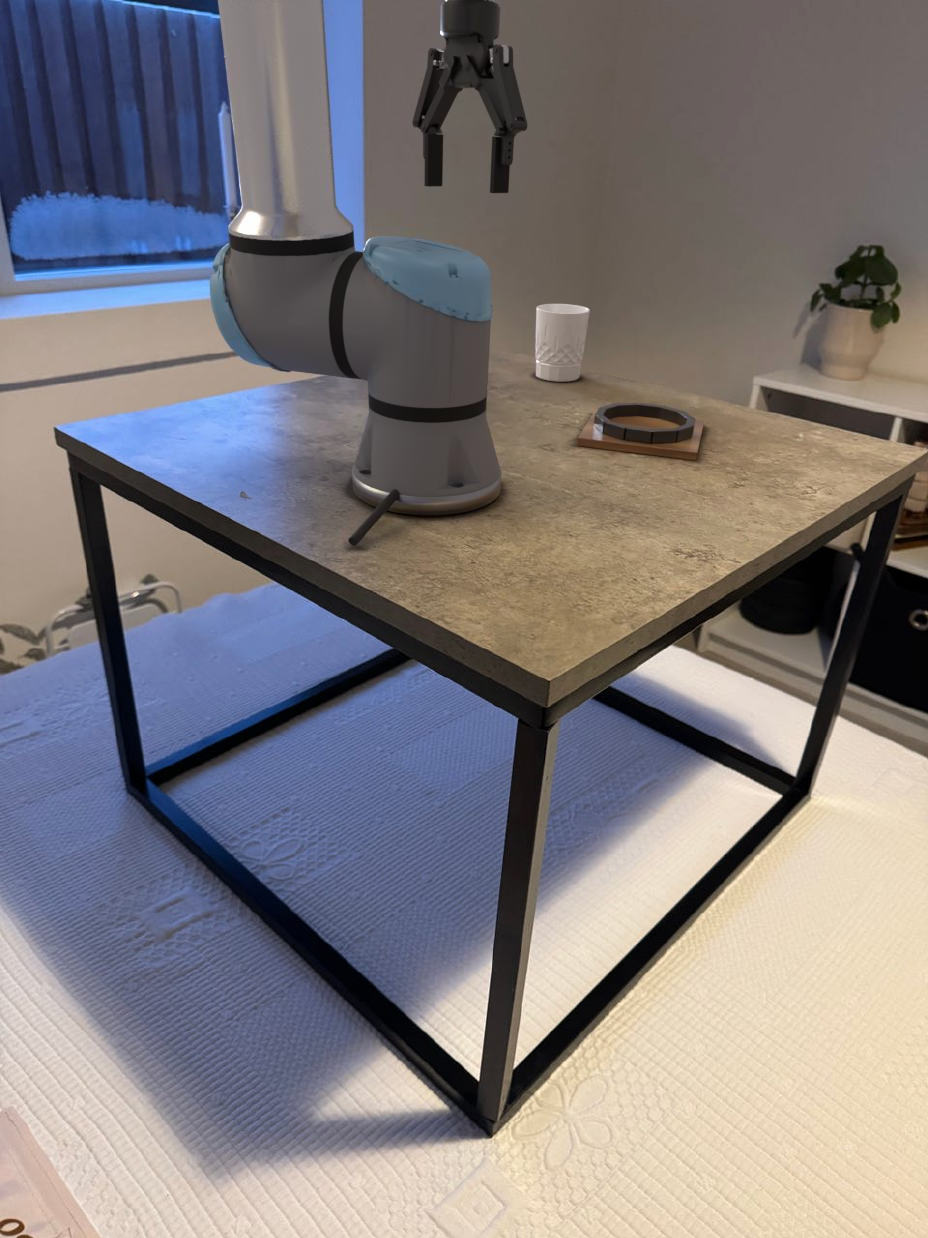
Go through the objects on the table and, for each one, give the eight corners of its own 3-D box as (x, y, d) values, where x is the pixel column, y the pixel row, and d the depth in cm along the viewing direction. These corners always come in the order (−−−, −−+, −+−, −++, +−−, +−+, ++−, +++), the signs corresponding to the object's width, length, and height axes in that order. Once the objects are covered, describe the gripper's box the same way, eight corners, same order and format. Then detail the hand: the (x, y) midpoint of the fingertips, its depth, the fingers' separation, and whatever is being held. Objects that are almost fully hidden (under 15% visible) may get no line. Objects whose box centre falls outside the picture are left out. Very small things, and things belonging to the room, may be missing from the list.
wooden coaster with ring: (695, 460, 99) (699, 439, 98) (576, 445, 103) (578, 425, 101) (703, 427, 111) (706, 407, 110) (596, 414, 114) (598, 395, 113)
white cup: (559, 368, 136) (565, 302, 131) (593, 379, 131) (601, 310, 126) (521, 373, 132) (525, 305, 127) (554, 385, 127) (560, 314, 122)
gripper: (564, -4, 102) (549, 195, 112) (430, 10, 118) (428, 183, 128) (519, -12, 98) (508, 196, 108) (386, 4, 113) (388, 183, 124)
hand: (465, 189), depth 118 cm, fingers open, 13 cm apart
